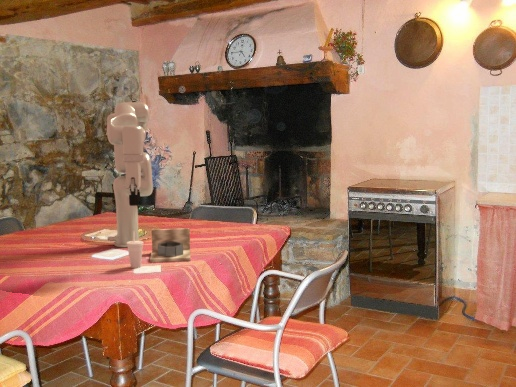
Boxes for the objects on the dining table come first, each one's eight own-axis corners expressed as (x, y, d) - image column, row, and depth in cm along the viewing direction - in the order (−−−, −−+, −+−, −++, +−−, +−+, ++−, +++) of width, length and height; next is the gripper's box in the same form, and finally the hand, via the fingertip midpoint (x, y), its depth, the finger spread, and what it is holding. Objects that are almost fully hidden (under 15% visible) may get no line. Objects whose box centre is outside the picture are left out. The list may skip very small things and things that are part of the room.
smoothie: (137, 263, 206) (136, 229, 204) (147, 266, 201) (146, 230, 200) (123, 267, 201) (122, 231, 199) (134, 270, 197) (132, 233, 195)
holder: (150, 262, 208) (149, 237, 206) (152, 252, 223) (151, 229, 222) (190, 260, 210) (189, 235, 208) (190, 251, 226) (189, 228, 224)
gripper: (125, 157, 204) (127, 201, 206) (120, 160, 187) (122, 207, 189) (144, 157, 205) (146, 200, 207) (141, 159, 188) (143, 206, 190)
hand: (135, 203), depth 198 cm, fingers open, 9 cm apart
